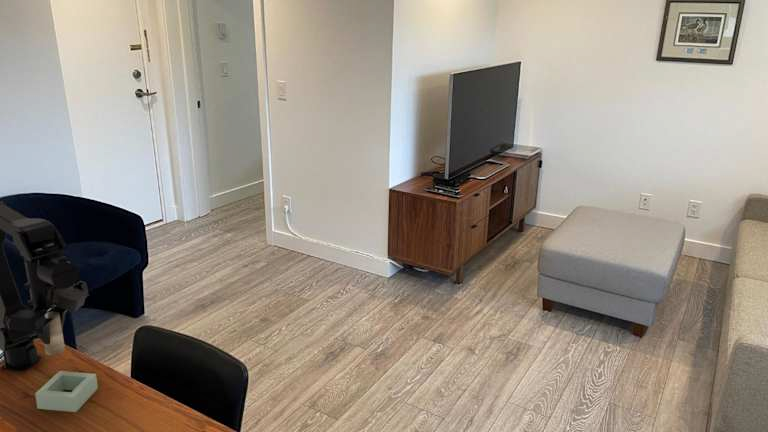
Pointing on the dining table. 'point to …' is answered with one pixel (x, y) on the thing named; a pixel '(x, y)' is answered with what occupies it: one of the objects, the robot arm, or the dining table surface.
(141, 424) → the dining table surface
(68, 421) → the dining table surface
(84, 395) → the socket
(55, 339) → the peg
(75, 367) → the dining table surface
